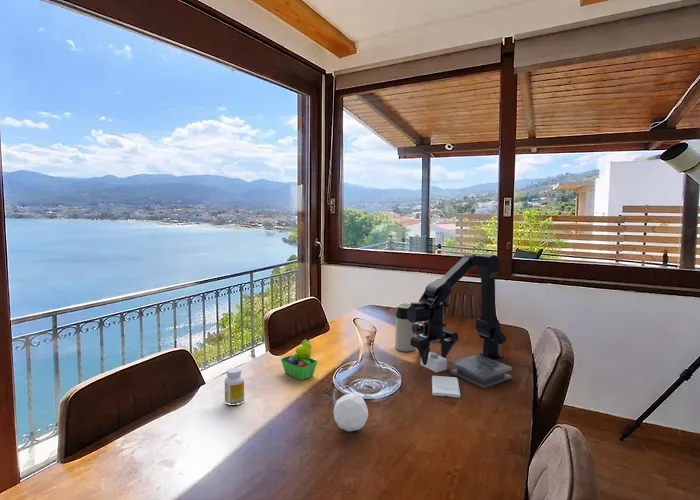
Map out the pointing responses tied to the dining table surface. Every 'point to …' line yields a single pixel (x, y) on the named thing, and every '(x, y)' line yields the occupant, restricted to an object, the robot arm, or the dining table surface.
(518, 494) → the dining table surface
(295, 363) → the fruit basket
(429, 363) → the block
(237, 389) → the supplement bottle
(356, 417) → the white low-poly ball
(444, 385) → the external hard drive
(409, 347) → the travel mug
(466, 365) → the stand
